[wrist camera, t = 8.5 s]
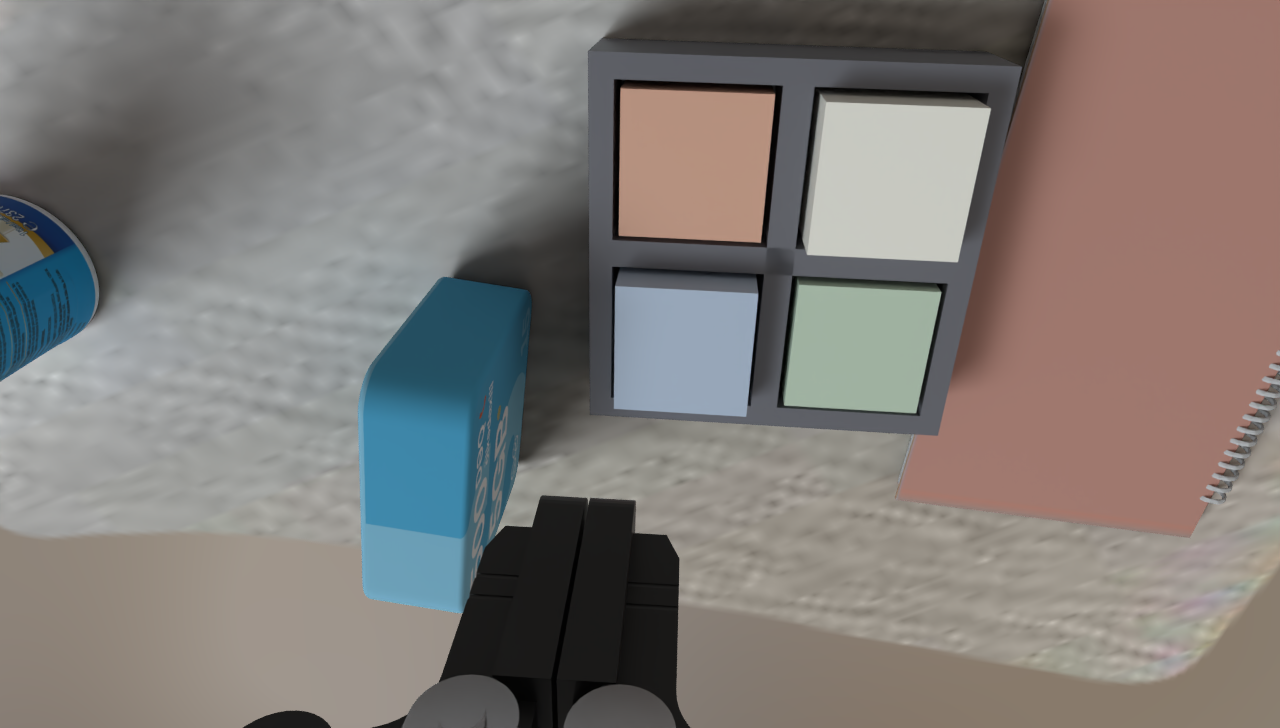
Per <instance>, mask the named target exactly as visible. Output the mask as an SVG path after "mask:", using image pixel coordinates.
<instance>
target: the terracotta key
mask: <svg viewBox="0 0 1280 728" xmlns="http://www.w3.org/2000/svg"><path fill="white" fill-rule="evenodd" d="M774 102H775V93H774V90H773V88H772V85H756V84H730V83H703V82H677V81H650V80H625V82H624V84H623V85H622V87H621V94H620V172H619V236H635V237H655V238H676V239H696V240H717V241H737V242H758V243H761V236H762V225H763V215H764V205H765V194H766V184H767V174H768V163H769V153H770V143H771V133H772V122H773V112H774Z"/></svg>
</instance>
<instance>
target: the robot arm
mask: <svg viewBox="0 0 1280 728" xmlns="http://www.w3.org/2000/svg"><path fill="white" fill-rule="evenodd" d="M635 515H636V501H634V500H616V499H599V498H590V501H589V505H588V500H587V498H578V497H561V496H543V495H542V496H541V498H540V500H539V504H538V507H537V511H536V515H535V518H534V522H533V526H532V527H517V526H505V527H504V528H503V529H502V530H501V531H500V532H499V533H498V534H497V535H496V536H495V537H494V538H493V539H492V540H491V541H490V543H489V544H488V545H487V546H486V547H485V549H484V552H483V554H482V557H481V560H480V563H479V566H478V569H477V572H476V578H474V581H473V584H472V587H471V590H470V593H469V599H467V602H466V605H465V608H464V611H463V614H462V617H461V620H460V623H459V626H458V629H457V631H456V634H455V638H454V640H453V643H452V646H451V649H450V652H449V655H448V658H447V662H446V664H445V667H444V670H443V673H442V676H441V678H440V681H439V683H437V684H435V685H434V686H432V687H431V688H429V689H428V690H426V691H425V692H424V693H423V694H422V695H421V696H420V697H419V698H418V699H417V701H416V702H415V703H414V704H413V706H412V707H411V709H410V711H409V713H408V714H407V715H406V716H404V717H402V718H400V719H398V720H396V721H393V722H391V723H388V724H384V725H381V726H377V727H373V728H690V727H689V726H688V724H687V723H686V721H685V720H684V718H683V716H682V714H681V712H680V710H679V707H678V703H677V696H676V678H677V637H678V635H677V634H678V595H679V557H678V555H677V553H676V552H675V550H674V548H673V546H672V544H671V542H670V541H669V539H668V537H667V535H656V534H639V533H635ZM243 728H331V727H330V725H329V724H328V723H327V722H326V721H325V720H324V719H322V718H321V717H319V716H317V715H315V714H312V713H309V712H304V711H284V712H278V713H274V714H271V715H267V716H264V717H262V718H260V719H258V720H255V721H253V722H252V723H250V724H248V725H246V726H245V727H243Z"/></svg>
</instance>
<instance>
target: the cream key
mask: <svg viewBox="0 0 1280 728" xmlns="http://www.w3.org/2000/svg"><path fill="white" fill-rule="evenodd" d="M990 111H991V108H990V107H988V106H986V105H985V104H983V103H982V102H980V101H978V100H977V99H975V98H973V97H972V96H970V95H969V94H967V93H965V92H942V91H915V90H889V89H862V88H836V87H816V88H815V97H814V105H813V113H812V122H811V130H810V139H809V147H808V156H807V164H806V172H805V181H804V189H803V198H802V206H801V215H800V223H799V230H800V233H801V236H802V240H803V243H804V246H805V250H806V253H807V255H818V256H839V257H859V258H879V259H900V260H920V261H940V262H958V259H959V255H960V250H961V245H962V241H963V236H964V231H965V227H966V222H967V218H968V213H969V208H970V204H971V199H972V195H973V190H974V185H975V181H976V176H977V171H978V167H979V162H980V158H981V153H982V148H983V144H984V139H985V134H986V130H987V125H988V121H989V116H990Z"/></svg>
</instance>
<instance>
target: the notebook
mask: <svg viewBox="0 0 1280 728" xmlns="http://www.w3.org/2000/svg"><path fill="white" fill-rule="evenodd" d="M1276 374H1279V375H1280V0H1045V1H1044V5H1043V8H1042V11H1041V14H1040V18H1039V21H1038V24H1037V27H1036V31H1035V34H1034V37H1033V41H1032V44H1031V47H1030V50H1029V54H1028V57H1027V60H1026V63H1025V67H1024V70H1023V73H1022V77H1021V80H1020V83H1019V86H1018V90H1017V93H1016V96H1015V100H1014V105H1013V109H1012V113H1011V118H1010V122H1009V127H1008V131H1007V135H1006V140H1005V144H1004V149H1003V153H1002V157H1001V162H1000V166H999V170H998V175H997V179H996V184H995V188H994V192H993V197H992V201H991V206H990V210H989V214H988V219H987V223H986V227H985V232H984V236H983V241H982V245H981V249H980V254H979V258H978V263H977V267H976V271H975V276H974V280H973V284H972V289H971V293H970V298H969V302H968V306H967V311H966V315H965V319H964V324H963V328H962V333H961V337H960V341H959V346H958V350H957V355H956V359H955V363H954V368H953V372H952V376H951V381H950V385H949V390H948V394H947V398H946V403H945V407H944V412H943V416H942V420H941V425H940V429H939V433H938V436H932V435H915V434H912V437H911V440H910V443H909V447H908V450H907V453H906V456H905V460H904V463H903V466H902V469H901V473H900V476H899V479H898V483H899V486H898V489H897V492H896V496H895V499H896V500H901V501H909V502H917V503H924V504H932V505H940V506H947V507H955V508H963V509H971V510H978V511H986V512H994V513H1001V514H1009V515H1017V516H1025V517H1032V518H1040V519H1048V520H1055V521H1063V522H1071V523H1078V524H1086V525H1094V526H1102V527H1109V528H1117V529H1125V530H1132V531H1140V532H1148V533H1156V534H1163V535H1171V536H1179V537H1186V538H1190V536H1191V534H1192V533H1193V531H1194V529H1195V527H1196V525H1197V523H1198V521H1199V519H1200V517H1201V516H1202V514H1203V512H1204V510H1205V508H1206V506H1207V504H1208V503H1213V504H1222V503H1224V502H1225V501H1226V494H1225V493H1226V492H1229V491H1231V490H1232V486H1233V485H1232V482H1231V481H1235V480H1236V479H1238V476H1239V473H1238V470H1239V469H1242V468H1243V467H1244V465H1245V461H1244V459H1243V458H1248V457H1249V456H1250V455H1251V449H1250V446H1254V445H1256V444H1257V440H1258V439H1257V437H1256V436H1255V435H1257V434H1261V433H1262V432H1263V430H1264V426H1263V424H1262V423H1263V422H1267V421H1269V420H1270V416H1271V415H1270V413H1269V412H1268V411H1267V410H1274V409H1275V408H1276V407H1277V402H1276V400H1275V399H1274V398H1278V397H1280V380H1279V379H1274V378H1275V376H1276ZM1270 386H1271V387H1273V388H1274V389H1276V390H1277V391H1278V392H1279V393H1274V392H1267V391H1268V389H1269V387H1270ZM1263 399H1266V400H1268V401H1269V402H1270V403H1271V404H1272V405H1262V404H1261V403H1262V401H1263ZM1257 410H1258V411H1259V412H1261V413H1262V414H1263V415H1264V416H1265V417H1266V418H1262V417H1254V416H1255V414H1256V412H1257ZM1251 422H1252V423H1253V424H1254V425H1256V426H1257V427H1258V428H1259V429H1260V430H1252V429H1248V427H1249V425H1250V423H1251ZM1245 434H1246V435H1247V436H1248V437H1250V438H1251V439H1252V440H1253V442H1246V441H1241V440H1242V438H1243V436H1244V435H1245ZM1238 446H1240V447H1242V448H1243V449H1244V450H1245V451H1246V452H1247V453H1246V454H1244V453H1235V452H1236V450H1237V448H1238ZM1232 457H1234V458H1235V459H1236V460H1238V461H1239V463H1240V464H1241V465H1231V464H1229V463H1230V461H1231V459H1232ZM1226 468H1227V469H1229V470H1231V471H1232V473H1233V474H1234V475H1235V476H1233V477H1231V476H1224V475H1223V474H1224V472H1225V470H1226ZM1220 480H1223V481H1224V482H1225V483H1226V484H1227V485H1228V488H1219V487H1218V486H1217V485H1218V484H1219V482H1220ZM1214 491H1216V492H1217V493H1218V494H1220V495H1221V496H1222V500H1218V499H1211V497H1212V495H1213V493H1214Z"/></svg>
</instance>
